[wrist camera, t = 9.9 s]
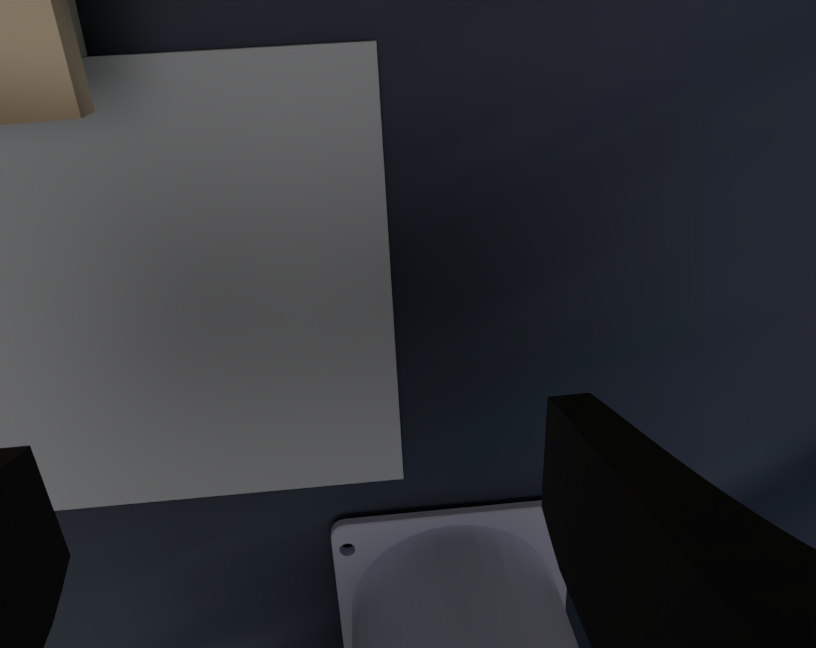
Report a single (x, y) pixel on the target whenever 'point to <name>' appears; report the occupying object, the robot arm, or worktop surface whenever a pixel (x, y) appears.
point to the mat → (201, 279)
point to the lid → (40, 64)
